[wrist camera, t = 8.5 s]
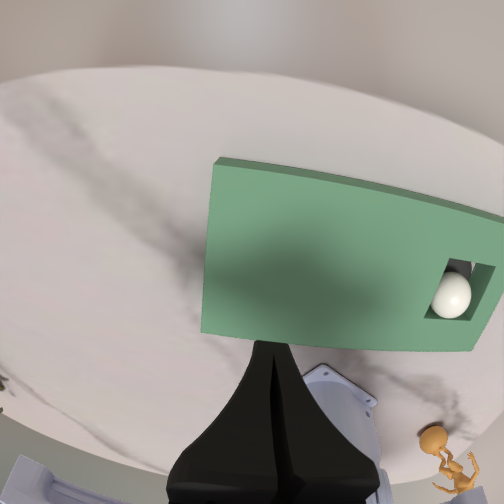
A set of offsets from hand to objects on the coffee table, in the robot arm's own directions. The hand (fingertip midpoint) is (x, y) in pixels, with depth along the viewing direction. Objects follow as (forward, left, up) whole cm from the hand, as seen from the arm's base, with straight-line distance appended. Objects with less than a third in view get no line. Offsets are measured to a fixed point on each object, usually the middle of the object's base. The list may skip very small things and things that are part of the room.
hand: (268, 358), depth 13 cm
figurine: (-35, +3, -11) cm, 37 cm away
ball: (-12, -8, -8) cm, 17 cm away
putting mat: (-7, -5, -10) cm, 13 cm away
